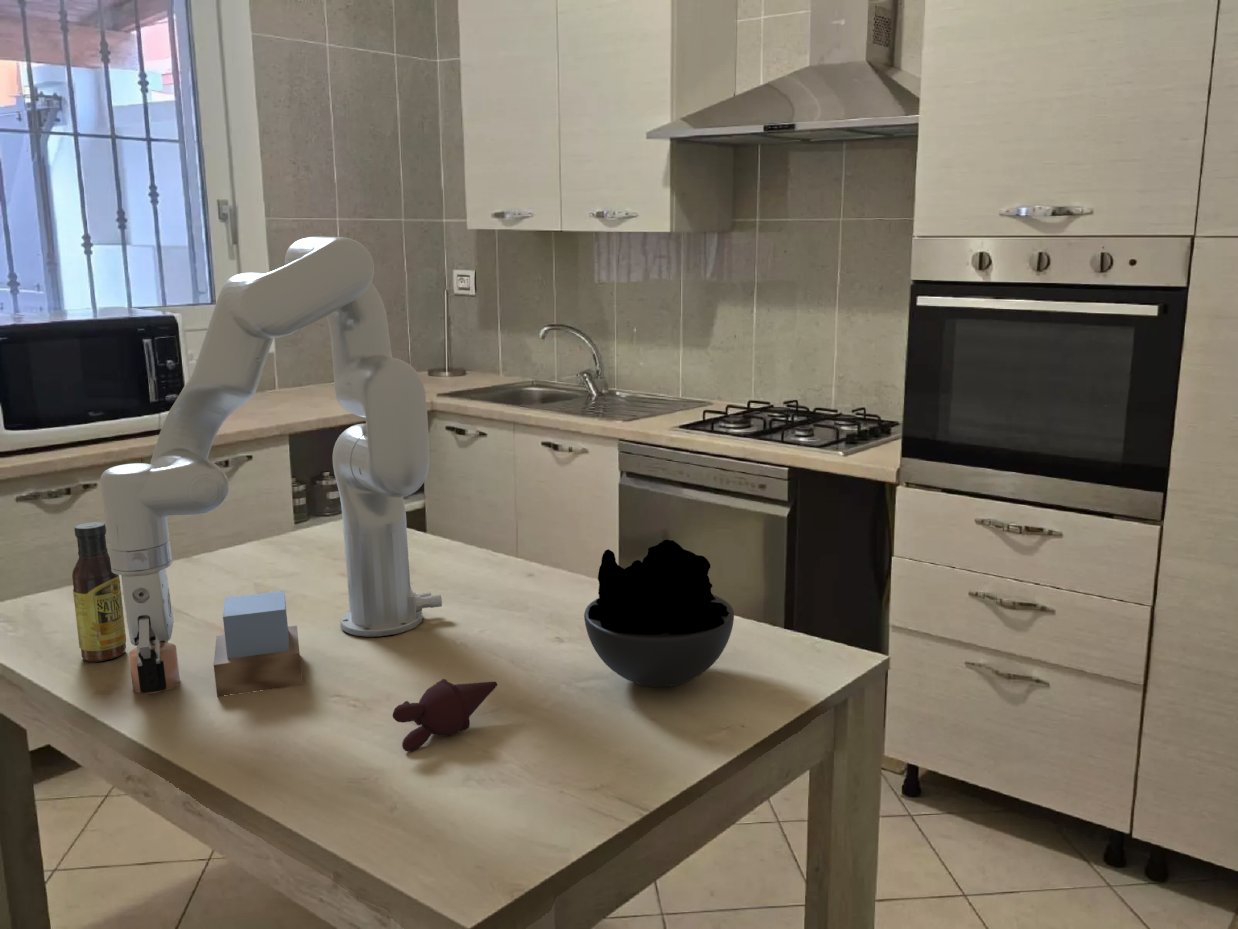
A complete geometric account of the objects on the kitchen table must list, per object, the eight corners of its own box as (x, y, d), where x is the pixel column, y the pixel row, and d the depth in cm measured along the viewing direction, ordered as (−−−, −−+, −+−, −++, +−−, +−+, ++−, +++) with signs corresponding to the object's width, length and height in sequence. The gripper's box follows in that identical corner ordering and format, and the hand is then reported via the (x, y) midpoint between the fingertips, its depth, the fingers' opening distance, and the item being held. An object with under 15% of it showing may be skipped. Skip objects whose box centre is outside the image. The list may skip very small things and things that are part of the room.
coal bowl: (748, 661, 153) (749, 533, 148) (711, 722, 134) (711, 578, 130) (615, 645, 159) (613, 522, 155) (563, 701, 141) (558, 564, 137)
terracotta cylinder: (181, 673, 153) (177, 639, 151) (178, 689, 147) (174, 655, 146) (135, 679, 151) (130, 645, 150) (131, 696, 145) (126, 662, 144)
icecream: (472, 656, 140) (374, 703, 130) (506, 658, 135) (406, 706, 125) (487, 706, 141) (390, 757, 131) (521, 710, 135) (423, 763, 125)
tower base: (299, 657, 158) (296, 625, 157) (302, 687, 148) (299, 653, 147) (220, 668, 155) (216, 635, 154) (217, 699, 145) (213, 664, 143)
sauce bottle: (109, 665, 156) (91, 532, 151) (71, 662, 157) (52, 531, 152) (138, 647, 162) (121, 520, 157) (101, 645, 163) (83, 518, 159)
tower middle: (288, 630, 155) (284, 590, 154) (289, 650, 148) (285, 609, 146) (229, 637, 153) (224, 597, 151) (227, 658, 145) (222, 616, 144)
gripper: (166, 572, 138) (181, 700, 142) (174, 535, 154) (188, 652, 158) (102, 579, 136) (119, 709, 140) (117, 541, 152) (132, 659, 156)
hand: (155, 678), depth 149 cm, fingers open, 7 cm apart
